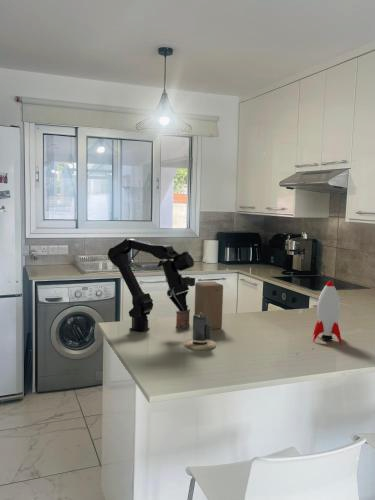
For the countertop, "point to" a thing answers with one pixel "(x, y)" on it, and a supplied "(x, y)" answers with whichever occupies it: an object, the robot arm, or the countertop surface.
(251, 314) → the countertop surface
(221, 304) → the wooden block
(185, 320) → the lighter
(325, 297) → the rocket
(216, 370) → the countertop surface
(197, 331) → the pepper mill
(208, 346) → the smooth tan round disc
